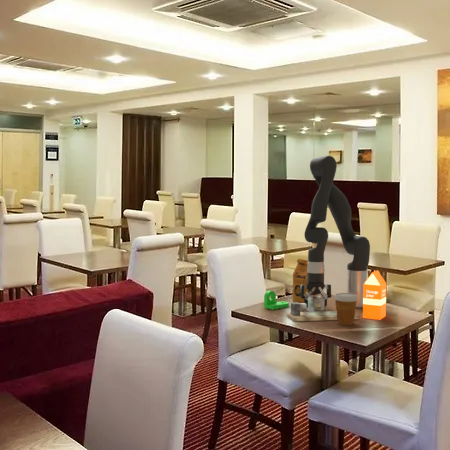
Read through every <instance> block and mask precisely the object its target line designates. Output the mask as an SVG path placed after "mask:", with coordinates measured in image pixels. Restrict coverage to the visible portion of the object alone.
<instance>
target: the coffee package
mask: <svg viewBox="0 0 450 450" xmlns="http://www.w3.org/2000/svg"><path fill="white" fill-rule="evenodd" d="M296 262H297V264H296V267H295V268H294V271H293V272H292V302H298V303H304V299H303V298H300V285H301V284H302V285H307V266H308V259H304V258H303V259H302V258H297V260H296ZM307 291H308V289H307V288H305V290H304V295H305V294H306V292H307ZM311 295H318V296H319V294H311Z"/></svg>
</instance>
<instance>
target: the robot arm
mask: <svg viewBox="0 0 450 450" xmlns="http://www.w3.org/2000/svg"><path fill="white" fill-rule="evenodd" d="M309 170H310V173H311V175H312V176H313V179H314V180H315V182H316V184H317V185H318V190H317V191H316V194H314V195H315V196H314V198H313V200H312V202H311V211H310V217H309V220H308V222H307V225H306V228H305V231H304V235H303V236H304V239H305V241H306V242H307V243H313V244H314V243H315V244H316V246H315V247H311V248H309V249H308V251H307V254H308V255H307V260H308V266H307V285H302V284H301V285H300V298H303V299H304V303H305V304H307V308H308V300H307V299H308V298H309V296H310V295H311V294H318V295H321V297H322V298H324V299H325V308H326V307H328V299H330V298H332V285H331V284H329V283H327V284H325V264H324V263H325V250H326V247H327V243H328V240H329V231H328V230H327V229H326V227H317V226H318V225H319V224H321V223H325V222H326V221H327V213H328V209H329V211H330V214H331V216H332V218H333V220H334V223H335V225H336V228H337V230H338V232H339V235H340V238H341V241H342V245H343V248H344V250H345V252H346V253H347V254H348V255H350V256H353V259H352V261H351V262H348V264H347V267H346V271H347V272H346V293H351V294H356V295H357V298H358V299H357V302H356V308H363V285H364V283H365V282H366V280H367V279H368V266H369V264H370V253H371V244H370V241H369V239H368V238H367V237H366V236H361V235H360V236H359V235H356V234H355V232H354V229H353V227H352V208H351V205H350V203H349V201H348V200H349V199H348V198H347V196H346V195H345V194H344V193H343V192H342V191H341V190H340V189H339V188H338V186H336V185H335V184H334V179H335V176H336V174H337V161H336V159H335V157H333V156H332V155H323V156H317V157H313V158H312V159H311V160H310V163H309ZM305 288H307V289H308V291H307V292H306V294H305V295H304V290H305ZM324 289H326V293H325V291H324Z"/></svg>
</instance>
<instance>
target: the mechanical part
mask: <svg viewBox="0 0 450 450" xmlns="http://www.w3.org/2000/svg"><path fill="white" fill-rule="evenodd" d="M263 297H264V298H263V307H265V308H264V309H268V308H269V309H268V310H272V311H274V309H275V310H279V308H280V309H285V308H289V307H288V306H290V302H288V301H284V300H283V301H282V300H281V301H276V297H277V295H276V293H275V292H274V291H272V290H266V291H265V293H264V296H263ZM284 307H285V308H284Z"/></svg>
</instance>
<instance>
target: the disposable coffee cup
mask: <svg viewBox="0 0 450 450" xmlns="http://www.w3.org/2000/svg"><path fill="white" fill-rule="evenodd" d="M333 299H334V300H335V301H334V302H335V309H336V310H335V311H337V320H336V321H337V324H338V325H339V326H340V325H341V326H353V325H354V322H355V319H354V316H355V314H356V309H357V307H356V302H357V299H358V298H357V295H356V294H351V293H347V292H340V293H339V292H337V293H335V295H334V298H333Z"/></svg>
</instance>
